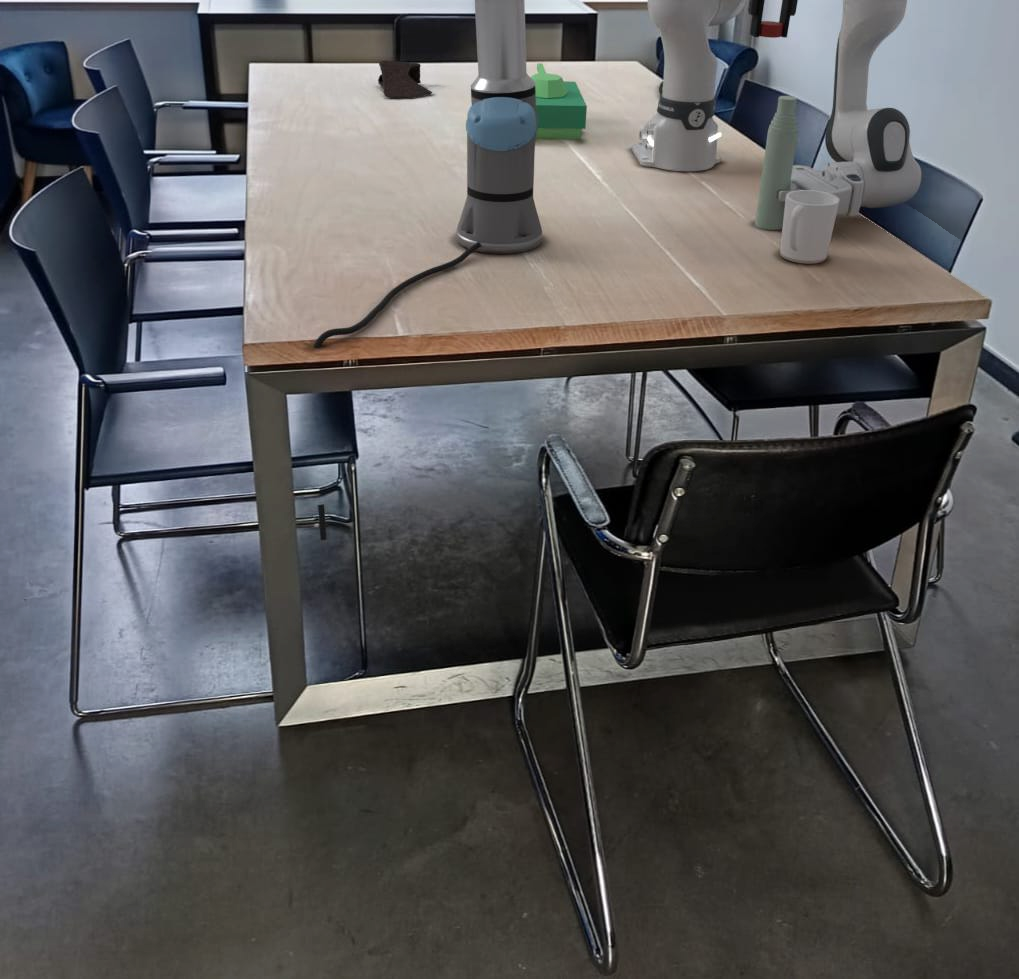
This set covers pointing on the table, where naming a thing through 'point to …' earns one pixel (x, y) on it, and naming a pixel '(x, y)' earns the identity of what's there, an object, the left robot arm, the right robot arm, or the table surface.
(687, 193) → the table surface
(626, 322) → the table surface
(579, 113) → the toy tank
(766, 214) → the bottle
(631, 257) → the table surface
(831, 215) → the mug
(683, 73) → the right robot arm
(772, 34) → the cap
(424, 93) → the axe head
